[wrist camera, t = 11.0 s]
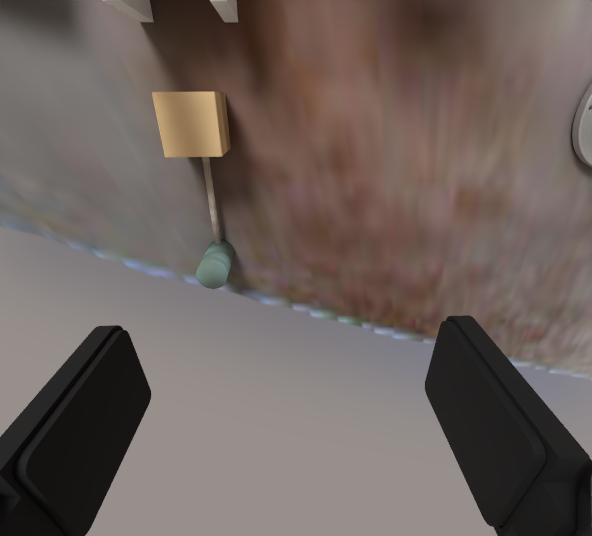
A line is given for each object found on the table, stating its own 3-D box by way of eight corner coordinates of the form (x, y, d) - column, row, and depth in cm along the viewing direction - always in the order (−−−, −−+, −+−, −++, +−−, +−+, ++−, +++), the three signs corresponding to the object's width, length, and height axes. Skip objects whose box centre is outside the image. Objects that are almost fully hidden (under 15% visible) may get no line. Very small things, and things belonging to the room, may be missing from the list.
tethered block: (225, 93, 29) (213, 91, 24) (242, 262, 38) (236, 288, 33) (173, 93, 29) (149, 91, 24) (202, 263, 38) (190, 289, 33)
